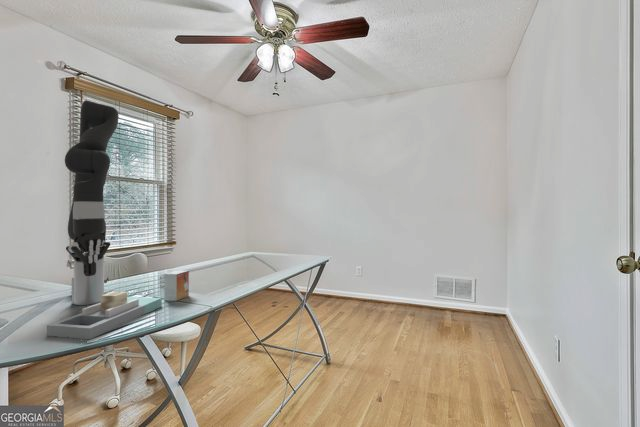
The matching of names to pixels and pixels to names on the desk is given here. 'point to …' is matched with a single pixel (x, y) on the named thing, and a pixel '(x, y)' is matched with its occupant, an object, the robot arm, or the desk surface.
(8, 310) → the desk surface
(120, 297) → the block
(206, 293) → the desk surface
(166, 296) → the small box
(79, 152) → the robot arm
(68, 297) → the desk surface
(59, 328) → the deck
